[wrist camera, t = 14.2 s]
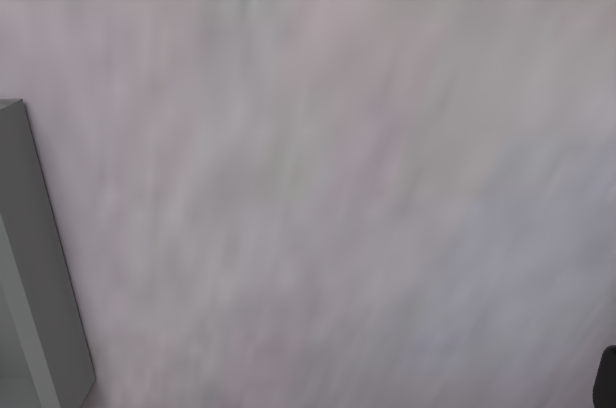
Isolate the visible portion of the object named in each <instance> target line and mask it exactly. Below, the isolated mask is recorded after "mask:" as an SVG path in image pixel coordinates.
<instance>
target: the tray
mask: <svg viewBox="0 0 616 408" xmlns="http://www.w3.org/2000/svg"><path fill="white" fill-rule="evenodd" d="M95 380H96V378H95V374H94V370H93V366H92V363H91V359H90V355H89V351H88V347H87V343H86V340H85V336H84V332H83V328H82V324H81V321H80V317H79V313H78V309H77V305H76V302H75V298H74V294H73V290H72V286H71V283H70V279H69V275H68V271H67V267H66V264H65V260H64V256H63V252H62V248H61V244H60V241H59V237H58V233H57V229H56V225H55V222H54V218H53V214H52V210H51V206H50V203H49V199H48V195H47V191H46V187H45V184H44V180H43V176H42V172H41V168H40V165H39V161H38V157H37V153H36V149H35V145H34V142H33V138H32V134H31V130H30V126H29V123H28V119H27V115H26V111H25V107H24V104H23V100H22V99H0V408H80V407H81V405H82V403H83V401H84V399H85V398H86V396H87V394H88V392H89V390H90V389H91V387H92V385H93V383H94V381H95Z"/></svg>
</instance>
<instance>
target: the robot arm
mask: <svg viewBox="0 0 616 408" xmlns="http://www.w3.org/2000/svg"><path fill="white" fill-rule="evenodd" d="M593 403H594V407H595V408H616V345H611V346H608V347H607V348H606V349H605V350H604V352H603V354H602V357H601V361H600V365H599V368H598V372H597V376H596V379H595V383H594V387H593Z"/></svg>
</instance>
